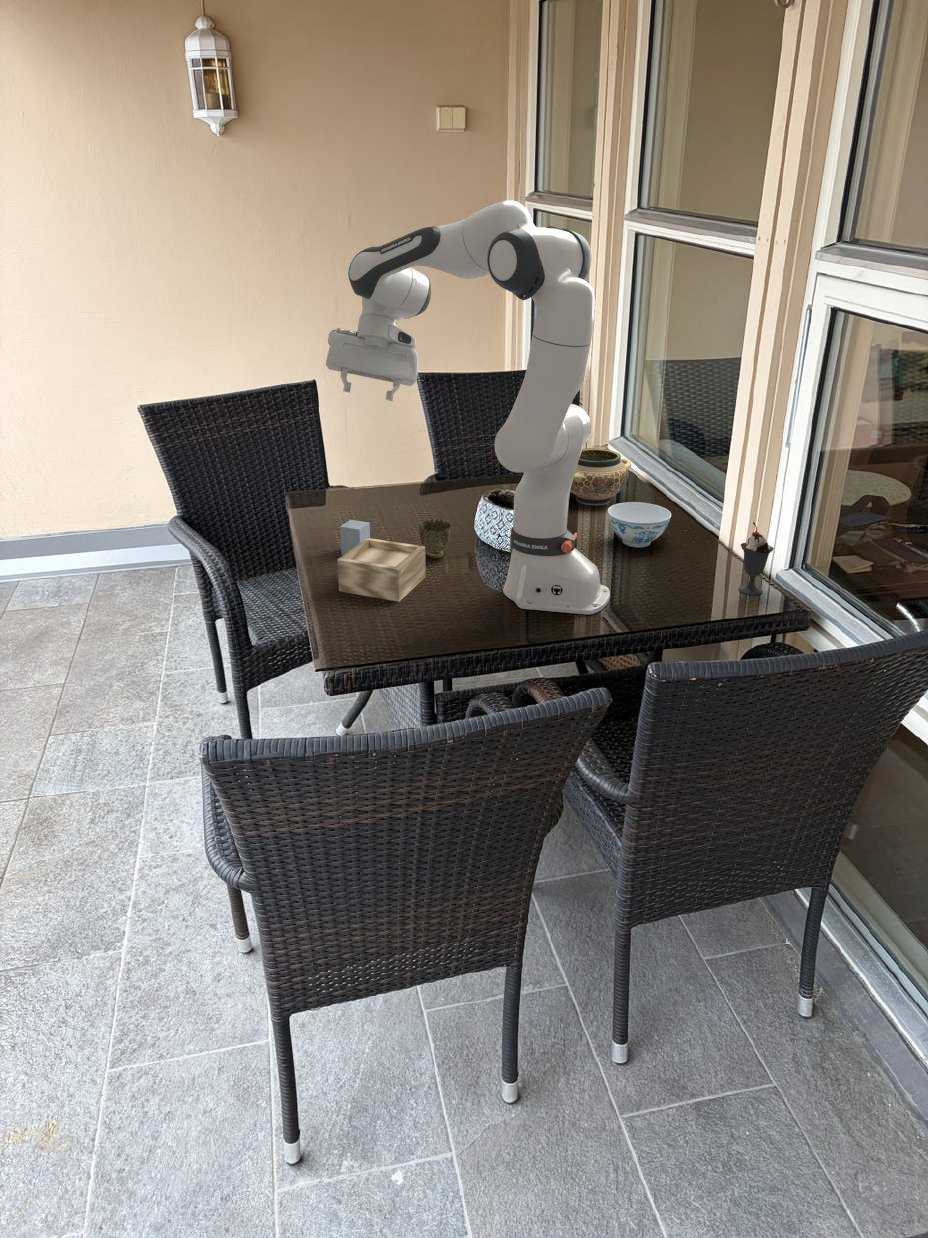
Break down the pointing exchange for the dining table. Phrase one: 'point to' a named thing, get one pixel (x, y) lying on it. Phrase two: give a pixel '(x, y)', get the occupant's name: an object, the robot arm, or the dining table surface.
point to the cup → (435, 537)
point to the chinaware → (638, 522)
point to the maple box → (381, 569)
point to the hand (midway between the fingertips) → (368, 395)
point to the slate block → (353, 534)
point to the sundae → (754, 560)
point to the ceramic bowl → (599, 476)
